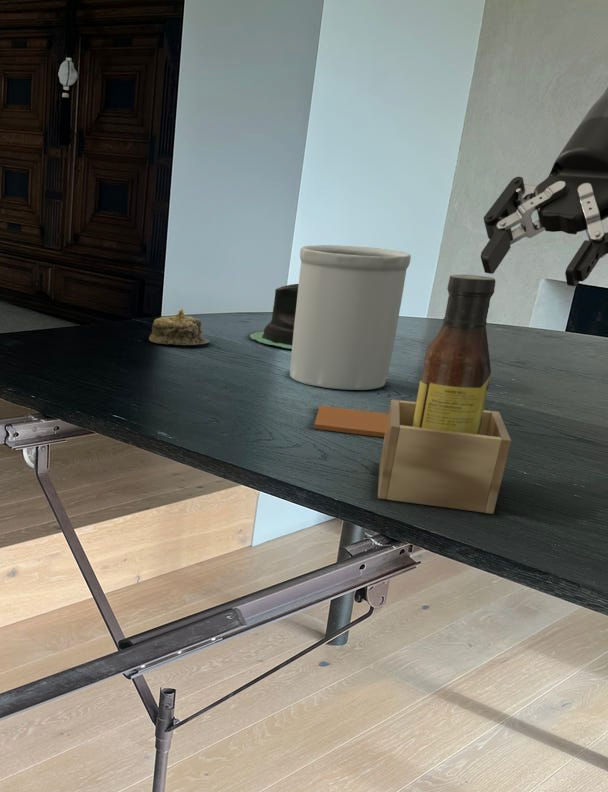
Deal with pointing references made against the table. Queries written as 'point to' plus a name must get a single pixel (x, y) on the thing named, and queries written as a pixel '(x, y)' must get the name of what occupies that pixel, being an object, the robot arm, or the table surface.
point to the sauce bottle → (458, 361)
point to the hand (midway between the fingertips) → (527, 273)
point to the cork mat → (351, 421)
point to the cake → (177, 330)
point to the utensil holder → (347, 315)
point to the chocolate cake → (281, 319)
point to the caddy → (442, 462)
